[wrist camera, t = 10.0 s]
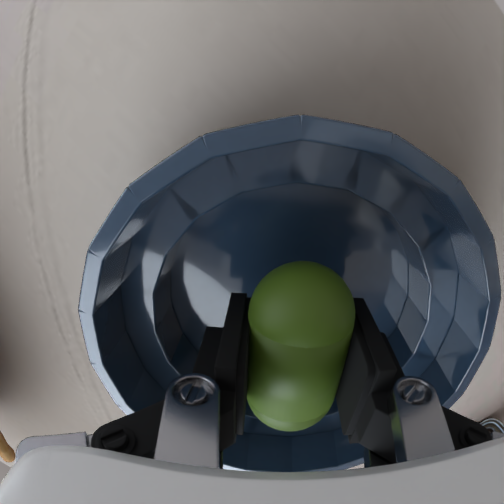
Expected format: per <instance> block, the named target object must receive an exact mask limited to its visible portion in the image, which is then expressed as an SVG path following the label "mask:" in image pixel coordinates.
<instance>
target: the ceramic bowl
mask: <svg viewBox="0 0 504 504" xmlns="http://www.w3.org/2000/svg"><path fill="white" fill-rule="evenodd" d="M0 456H1V457H2V458H3V460H4V461H6V462H12V461H14V460H15V453H14V450H13V449H12V448H11V447H10V446H9V445H8V443H7V442H6V440H5V438H4V436H3V434H2V433H1V431H0Z"/></svg>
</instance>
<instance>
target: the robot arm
mask: <svg viewBox="0 0 504 504" xmlns="http://www.w3.org/2000/svg"><path fill="white" fill-rule="evenodd" d="M250 300H251V298H250V297H247V293H233V292H232V293H231V297H230V301H229V305H228V309H227V314H226V318H225V322H224V327H211V326H207V327H206V330H205V333H204V336H203V339H202V342H201V346H200V349H199V352H198V355H197V359H196V362H195V365H194V368H193V372H192V373H188V374H184V375H180V376H178V377H177V378H175V379H173V380H172V381H171V382H170V383H169V385H168V388H167V391H166V396H165V399H164V400H162V401H159V402H157V403H155V404H153V405H150V406H148V407H146V408H144V409H141V410H139V411H136V412H134V413H132V414H129V415H127V416H124V417H122V418H120V419H117V420H115V421H112V422H110V423H107V424H105V425H103V426H101V427H99V428H98V429H97V430H96V431H95V432H94V434H91V435H87V434H86V432H78V433H69V434H58V435H45V436H32V437H27V438H25V439H24V440H22V441H21V442H20V443H19V445H18V446H17V450H16V463H15V464H14V465H13V466H12V468H11V469H10V470H9V472H8V473H7V474H6V476H5V477H4V479H3V480H2V482H1V483H0V504H504V433H499V432H494V431H492V433H491V434H490V433H489V431H488V430H487V429H486V428H485V427H484V426H482V425H481V424H479V423H477V422H475V421H473V420H470V419H468V418H466V417H464V416H462V415H460V414H458V413H456V412H454V411H452V410H449V409H447V408H445V407H443V406H441V404H440V401H439V399H438V396H437V393H436V390H435V389H434V387H433V386H432V385H431V384H430V383H429V382H428V381H427V380H425V379H423V378H420V377H417V376H405V375H404V373H403V371H402V368H401V366H400V364H399V362H398V360H397V358H396V356H395V353H394V351H393V349H392V347H391V345H390V343H389V341H388V339H387V337H386V335H385V334H384V333H383V332H380V331H379V329H378V327H377V325H376V322H375V320H374V318H373V316H372V314H371V312H370V310H369V308H368V306H367V304H366V302H365V300H364V299H363V298H353V300H354V304H355V312H356V313H355V322H354V329H353V333H352V337H351V341H350V345H349V349H348V353H347V357H346V360H345V364H344V368H343V371H342V375H341V378H340V382H339V385H338V389H337V392H336V395H335V396H336V401H337V406H338V411H339V417H340V422H341V428H342V433H343V435H348V439H349V444H352V443H359V444H361V445H363V446H364V467H365V468H359V469H349V470H337V471H320V472H256V471H239V470H227V469H223V450H224V449H226V448H228V447H229V446H231V445H233V444H234V443H236V436H237V434H238V435H243V431H244V421H245V411H246V400H247V384H248V356H249V328H250V324H249V321H248V310H249V304H250Z"/></svg>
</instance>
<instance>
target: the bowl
mask: <svg viewBox="0 0 504 504" xmlns="http://www.w3.org/2000/svg"><path fill="white" fill-rule="evenodd" d="M295 261H311V262H316V263H319V264H322V265H324V266H326V267H328V268H330V269H332V270H333V271H334V272H336V273H337V274H338V275H339V276H340V277H341V278H342V279H343V280H344V282H345V283H346V285H347V286H348V288H349V289H350V291H351V294H352V297H353V298H363V299H364V300H365V302H366V304H367V306H368V308H369V310H370V312H371V314H372V316H373V318H374V320H375V322H376V325H377V327H378V329H379V331H380V332H383V333H384V334H385V335H386V337H387V339H388V341H389V343H390V345H391V347H392V349H393V351H394V353H395V356H396V358H397V360H398V362H399V364H400V366H401V368H402V371H403V373H404V375H405V376H417V377H420V378H423V379H425V380H427V381H428V382H429V383H430V384H431V385H432V386H433V387H434V389H435V390H436V393H437V396H438V399H439V401H440V404H441V406H443V407H445V408H447V409H449V408H450V407H451V406H452V405H453V404H454V403H455V402H456V401H457V400H458V399H459V398H460V397H461V396H462V395H463V393H464V392H465V390H466V389H467V387H468V385H469V384H470V382H471V380H472V379H473V377H474V375H475V374H476V372H477V370H478V368H479V367H480V365H481V363H482V361H483V359H484V358H485V356H486V354H487V352H488V350H489V347H490V345H491V341H492V337H493V333H494V329H495V325H496V320H497V315H498V311H499V306H500V300H501V285H500V276H499V268H498V260H497V254H496V247H495V241H494V238H493V234H492V233H491V231H490V229H489V227H488V225H487V223H486V221H485V220H484V218H483V216H482V214H481V213H480V211H479V209H478V207H477V206H476V204H475V202H474V201H473V199H472V197H471V196H470V194H469V193H468V191H467V189H466V188H465V186H464V185H463V183H462V182H461V180H459V179H458V177H457V176H455V175H454V174H453V173H451V172H450V171H449V170H447V169H446V168H445V167H443V166H442V165H441V164H439V163H438V162H437V161H435V160H434V159H432V158H431V157H430V156H428V155H427V154H425V153H424V152H422V151H421V150H419V149H418V148H417V147H415V146H414V145H412V144H411V143H409V142H408V141H406V140H405V139H403V138H401V137H400V136H398V135H397V134H393V133H392V132H390V131H385V130H381V129H377V128H373V127H368V126H363V125H359V124H354V123H349V122H344V121H338V120H333V119H327V118H321V117H315V116H309V115H301V116H300V115H292V116H287V117H281V118H275V119H270V120H265V121H260V122H255V123H250V124H245V125H241V126H236V127H232V128H227V129H223V130H219V131H215V132H211V133H207V134H204V135H203V136H199V137H198V138H196V139H195V140H193V141H191V142H190V143H188V144H187V145H185V146H184V147H182V148H181V149H179V150H178V151H176V152H175V153H173V154H172V155H170V156H169V157H167V158H166V159H164V160H163V161H161V162H160V163H158V164H157V165H155V166H154V167H153V168H151V169H150V170H148V171H147V172H146V173H144V174H143V175H141V176H140V177H139V178H137V179H136V180H134V181H133V182H132V183H130V185H129V186H128V187H127V188H126V189H125V190H124V192H123V193H122V195H121V196H120V198H119V199H118V201H117V202H116V204H115V205H114V207H113V208H112V210H111V211H110V213H109V214H108V216H107V218H106V219H105V221H104V222H103V224H102V226H101V227H100V229H99V230H98V232H97V234H96V235H95V237H94V239H93V240H92V242H91V244H90V245H89V249H88V251H87V256H86V261H85V267H84V272H83V279H82V285H81V292H80V299H79V307H78V308H79V310H78V312H79V317H80V322H81V327H82V331H83V336H84V340H85V344H86V348H87V353H88V356H89V360H90V362H91V365H92V367H93V368H94V370H95V372H96V373H97V375H98V377H99V378H100V380H101V382H102V383H103V385H104V387H105V388H106V390H107V391H108V393H109V394H110V396H111V398H112V399H113V401H114V402H115V404H116V405H118V407H119V408H120V409H121V410H122V411H123V412H124V413H125V414H126V415H129V414H132V413H134V412H136V411H139V410H141V409H144V408H146V407H148V406H150V405H153V404H155V403H157V402H159V401H162V400H164V399H165V396H166V391H167V388H168V385H169V383H170V382H171V381H172V380H173V379H175V378H177V377H178V376H180V375H184V374H188V373H192V372H193V368H194V365H195V362H196V359H197V355H198V352H199V349H200V346H201V342H202V339H203V336H204V333H205V330H206V327H207V326H211V327H224V322H225V318H226V314H227V309H228V305H229V301H230V297H231V293H232V292H233V293H247V297H250V298H251V297H252V295H253V292H254V290H255V288H256V287H257V285H258V284H259V283H260V281H261V280H262V279H263V278H264V277H265V276H266V275H267V274H268V273H269V272H271V271H272V270H273V269H275V268H277V267H279V266H281V265H283V264H286V263H290V262H295ZM363 463H364V446H363V445H361V444H359V443H352V444H349V439H348V435H343V433H342V428H341V422H340V417H339V411H338V406H337V401H336V396H335V399H334V402H333V404H332V406H331V408H330V409H329V411H328V413H327V414H326V415H325V416H324V417H323V418H322V419H321V420H320V421H319V422H317V423H316V424H314V425H313V426H310V427H308V428H306V429H303V430H299V431H281V430H277V429H274V428H271V427H269V426H267V425H266V424H264V423H263V422H262V421H260V420H259V419H258V418H257V417H256V416H255V415H254V413H253V411H252V410H251V408H250V406H249V403H248V400H246V411H245V421H244V431H243V435H238V434H237V436H236V443H234V444H233V445H231V446H229V447H228V448H226V449H224V450H223V469H227V470H239V471H256V472H320V471H337V470H345V469H348V468H351V467H354V466H357V465H360V464H363Z"/></svg>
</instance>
